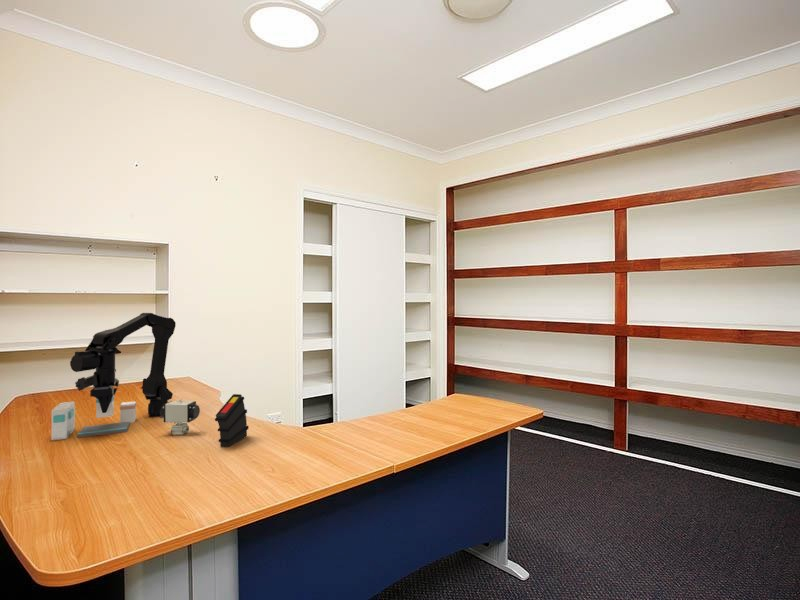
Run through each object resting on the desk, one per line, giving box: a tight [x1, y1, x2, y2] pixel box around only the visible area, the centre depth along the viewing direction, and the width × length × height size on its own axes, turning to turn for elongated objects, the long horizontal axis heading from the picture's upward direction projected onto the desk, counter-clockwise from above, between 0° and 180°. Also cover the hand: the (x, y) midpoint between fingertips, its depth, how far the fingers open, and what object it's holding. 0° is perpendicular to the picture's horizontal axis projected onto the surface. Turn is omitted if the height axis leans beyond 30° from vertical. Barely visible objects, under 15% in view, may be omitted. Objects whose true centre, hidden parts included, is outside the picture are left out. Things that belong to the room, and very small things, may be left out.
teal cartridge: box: [95, 395, 115, 419], centre depth 150 cm, size 5×5×7 cm
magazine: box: [214, 393, 249, 448], centre depth 139 cm, size 4×13×15 cm, turn 169°
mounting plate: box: [77, 422, 131, 438], centre depth 150 cm, size 14×10×1 cm
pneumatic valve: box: [159, 398, 201, 436], centre depth 147 cm, size 6×12×12 cm, turn 89°
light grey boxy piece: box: [119, 401, 137, 424], centre depth 162 cm, size 5×5×7 cm
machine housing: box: [51, 401, 76, 441], centre depth 146 cm, size 4×12×10 cm, turn 27°
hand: (105, 411), depth 150 cm, fingers closed on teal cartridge, 5 cm apart
